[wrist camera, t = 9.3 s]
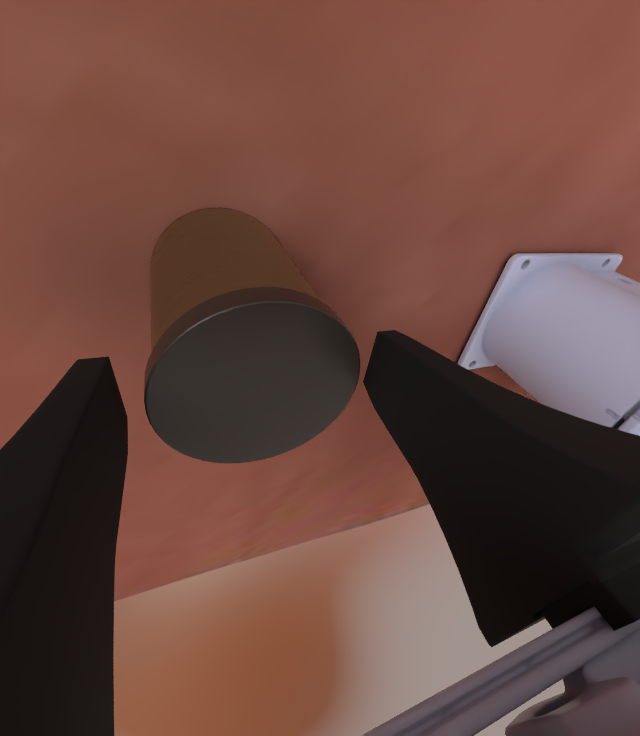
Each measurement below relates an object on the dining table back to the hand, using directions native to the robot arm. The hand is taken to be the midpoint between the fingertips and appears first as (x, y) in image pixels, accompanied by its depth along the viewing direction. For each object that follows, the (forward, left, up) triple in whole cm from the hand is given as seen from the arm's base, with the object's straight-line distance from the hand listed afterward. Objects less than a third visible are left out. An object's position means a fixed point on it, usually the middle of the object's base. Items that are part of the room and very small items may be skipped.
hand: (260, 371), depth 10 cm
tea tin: (0, 0, -6) cm, 6 cm away
